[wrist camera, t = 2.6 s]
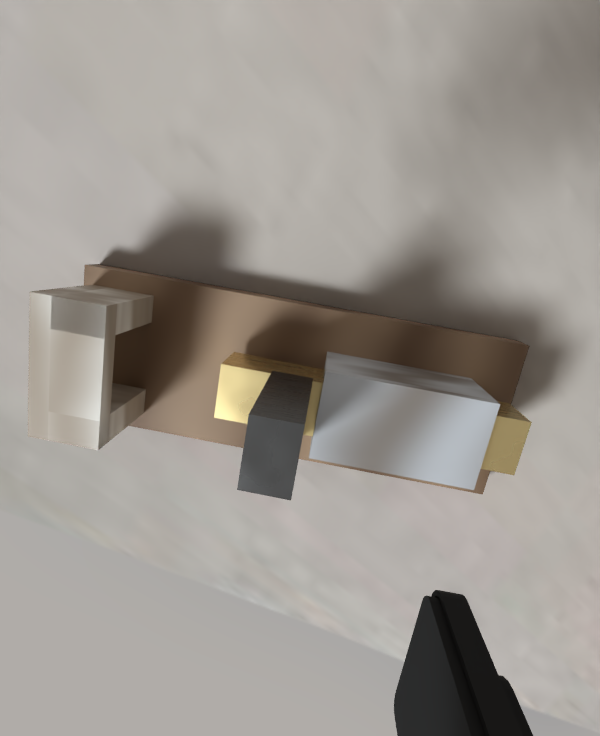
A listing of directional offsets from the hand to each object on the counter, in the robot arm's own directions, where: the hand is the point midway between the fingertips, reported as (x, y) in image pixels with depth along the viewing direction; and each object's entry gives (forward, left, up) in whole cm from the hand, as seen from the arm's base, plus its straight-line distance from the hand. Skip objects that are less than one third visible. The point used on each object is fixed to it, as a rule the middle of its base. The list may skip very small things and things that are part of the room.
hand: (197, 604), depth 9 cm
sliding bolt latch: (0, 0, -18) cm, 18 cm away
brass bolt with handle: (-4, -3, -16) cm, 16 cm away
